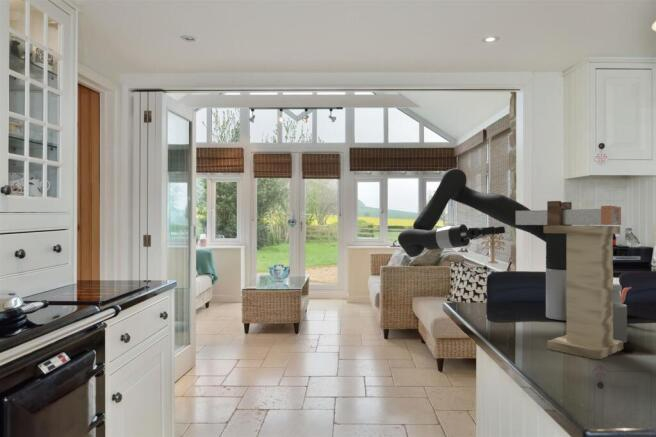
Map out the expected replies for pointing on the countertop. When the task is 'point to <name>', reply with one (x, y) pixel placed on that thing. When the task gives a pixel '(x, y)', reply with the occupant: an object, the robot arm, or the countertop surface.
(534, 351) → the countertop surface
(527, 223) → the bar
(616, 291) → the salt shaker
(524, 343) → the countertop surface
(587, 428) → the countertop surface
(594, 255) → the shelf stand
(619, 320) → the coffee mug
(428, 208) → the robot arm
